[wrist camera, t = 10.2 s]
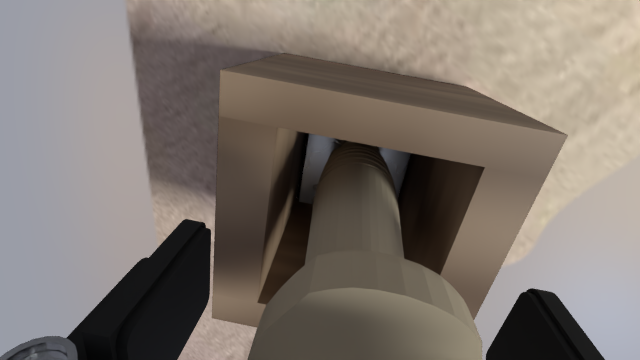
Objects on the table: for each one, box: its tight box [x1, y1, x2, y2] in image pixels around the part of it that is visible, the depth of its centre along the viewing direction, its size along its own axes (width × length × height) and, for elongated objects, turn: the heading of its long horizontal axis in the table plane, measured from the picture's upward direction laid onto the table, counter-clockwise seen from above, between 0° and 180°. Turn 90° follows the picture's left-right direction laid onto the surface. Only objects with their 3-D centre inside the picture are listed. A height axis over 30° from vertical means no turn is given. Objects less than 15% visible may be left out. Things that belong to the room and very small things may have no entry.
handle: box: [248, 141, 482, 360], centre depth 14 cm, size 5×6×15 cm
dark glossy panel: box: [299, 133, 411, 204], centre depth 21 cm, size 7×6×1 cm
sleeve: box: [212, 53, 568, 328], centre depth 17 cm, size 11×11×10 cm
